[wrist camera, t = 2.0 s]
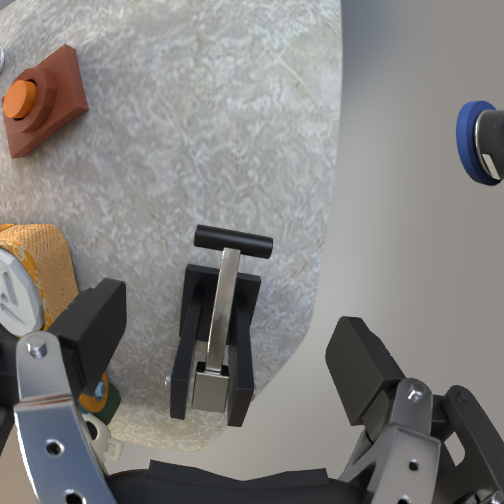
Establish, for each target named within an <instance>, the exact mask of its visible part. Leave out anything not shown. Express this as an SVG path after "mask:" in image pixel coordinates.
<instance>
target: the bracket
mask: <svg viewBox="0 0 504 504" xmlns="http://www.w3.org/2000/svg"><path fill="white" fill-rule="evenodd" d="M219 271H220V269H215V268H209V267H203V266H198V265H192V264H188V265H187V267H186V272H185V281H184V290H183V299H182V309H181V320H180V332H179V337H181V338H180V342H179V346H178V350H177V354H176V358H175V362H174V366H173V370H168V372H167V377H166V389H169V390H170V417H171V418H176V419H181V420H184V419H185V412H186V405H187V399H188V392H189V386H190V379H191V373H192V367H193V361H194V355H195V350H196V344H197V340H199V341H205V342H208V341H209V334H210V328H211V321H212V315H213V308H214V302H215V296H216V290H217V283H218V277H219ZM260 285H261V278H260V276H256V275H250V274H244V273H238V272H237V277H236V283H235V289H234V295H233V301H232V308H231V314H230V320H229V326H228V332H227V339H226V345H229V348H228V369H229V375H230V381H229V387H228V416H227V425H228V426H235V427H241V426H242V424H243V421H244V419H245V416H246V413H247V410H248V407H249V405H250V402H251V401H253V400H254V397H255V390H256V386H255V383H254V378H253V366H252V354H251V342H250V330H249V329H250V325H251V321H252V317H253V313H254V309H255V305H256V301H257V297H258V293H259V289H260Z"/></svg>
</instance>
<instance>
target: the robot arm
mask: <svg viewBox="0 0 504 504" xmlns="http://www.w3.org/2000/svg"><path fill="white" fill-rule="evenodd" d="M472 140H473V148H474V153H475V156H476V159H477V162H478V164H479V166H480V168H481V170H482V171H483V172H484V173H485V174H486V175H487V176H489V177H493V178H495V179H499V180H500V179H504V110H481V111H480V112H479V113H478V114H477V115H476V117H475V120H474V123H473V130H472ZM126 322H127V312H126V284H125V282H124V281H119V280H115V279H110V278H104V279H103V280H102V281H101V282H100V283H99V284H98V285H97V286H96V288H95V289H94V288H89V289H87V290H85V291H83V292H81V293H79V294H78V295H77V296H76V297H75V298H74V299H73V301H72V303H70V304H69V305H68V306H67V307H66V309H64V310H63V312H62V313H61V314H60V315H59V316H58V317H57V318H56V320H55V321H54V322H53V323H52V324H51V325H50V327H49V328H48V329H47V330H46V331H32V332H29V333H27V334H25V335H24V336H22V337H21V338H20V339H19V341H18V342H12V341H6V340H0V456H1V453H2V451H3V448H4V446H5V443H6V441H7V439H8V436H9V434H10V431H11V430H12V427H13V425H14V423H16V429H17V435H18V440H19V444H20V449H21V453H22V457H23V461H24V465H25V468H26V471H27V474H28V478H29V482H30V485H31V488H32V490H33V493H34V496H35V499H36V501H37V504H504V442H503V440H502V439H501V437H500V435H499V434H498V432H497V430H496V429H495V427H494V426H493V424H492V423H491V421H490V419H489V418H488V416H487V415H486V413H485V412H484V410H483V409H482V407H481V406H480V404H479V403H478V401H477V400H476V398H475V397H474V396H473V394H472V393H471V392H470V391H469V390H468V389H466V388H464V387H462V386H459V385H454V386H452V387H451V388H450V389H449V390H448V392H447V393H446V394H445V395H444V396H440V395H433V394H432V392H431V390H430V389H429V388H428V386H427V385H426V384H424V383H423V382H421V381H419V380H417V379H414V378H406V377H405V375H404V374H403V372H402V371H401V370H400V368H399V366H398V365H397V363H396V362H395V360H394V359H393V357H392V356H390V353H389V351H388V350H387V349H385V346H384V344H383V343H382V341H381V340H380V338H378V337H377V336H376V335H375V334H374V333H372V332H371V331H370V330H369V328H368V327H367V326H366V324H365V323H364V321H363V320H362V319H361V318H358V317H347V316H342V317H341V318H340V319H339V321H338V323H337V325H336V328H335V330H334V333H333V335H332V337H331V339H330V342H329V344H328V346H327V349H326V356H325V359H326V363H327V366H328V369H329V371H330V373H331V376H332V379H333V381H334V384H335V386H336V389H337V391H338V394H339V396H340V399H341V401H342V404H343V406H344V409H345V412H346V414H347V417H348V419H349V422H350V424H351V426H356V425H364V426H365V429H364V430H363V431H362V433H361V435H360V437H359V439H358V442H357V444H356V446H355V449H354V451H353V454H352V455H351V458H350V460H349V462H348V464H347V466H346V468H345V470H344V472H343V473H342V474H341V476H340V477H339V478H338V479H332V478H328V476H327V472H326V469H325V468H323V469H315V470H302V471H287V472H283V473H279V474H275V475H271V476H267V477H262V478H257V479H252V480H247V481H240V480H235V479H232V478H228V477H224V476H221V475H217V474H214V473H211V472H208V471H204V470H201V469H198V468H195V467H188V466H182V465H176V464H170V463H165V462H160V461H155V460H150V466H149V469H137V470H128V471H122V472H118V473H115V474H112V475H109V474H108V472H107V470H106V468H105V466H104V464H103V462H102V460H101V458H100V456H99V454H98V452H97V450H96V448H95V445H94V443H93V441H92V438H91V436H90V433H89V431H88V428H87V426H86V423H85V421H84V418H83V415H82V412H81V410H80V407H79V404H78V399H79V397H80V395H81V393H82V394H84V395H87V396H90V397H93V395H94V393H95V391H96V389H97V386H98V384H99V382H100V380H101V378H102V376H103V374H104V372H105V370H106V368H107V366H108V364H109V362H110V360H111V358H112V356H113V354H114V352H115V350H116V348H117V346H118V344H119V342H120V340H121V338H122V336H123V334H124V332H125V328H126ZM454 431H455V432H456V434H457V436H458V438H459V440H460V442H461V443H462V445H463V447H464V449H465V457H464V459H463V461H462V462H461V463H460V464H459V465H457V466H455V464H454V462H453V460H452V458H451V456H450V453H449V451H448V450H447V447H446V445H445V443H444V442H445V441H446V439H448V438H449V437H450V436H451V435H452V434H453V432H454Z"/></svg>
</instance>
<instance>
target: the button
mask: <svg viewBox="0 0 504 504" xmlns="http://www.w3.org/2000/svg"><path fill="white" fill-rule="evenodd" d="M37 93H38V91H37V86H36V85H35V84H34V83H33V82H29V81H24V80H18V81H16V82H14V83H13V84H12V85H11V87H10V88H9V89H8V91H7V93H6V95H5V98H4V103H3V110H4V114H5V115H6V116H7V117H9V118H23V117H25V116H27V115H28V114H29V113H30V112H31V110H32V108H33V106H34V105H35V102H36V97H37Z"/></svg>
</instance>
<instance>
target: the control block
mask: <svg viewBox="0 0 504 504" xmlns="http://www.w3.org/2000/svg"><path fill="white" fill-rule="evenodd" d="M18 80H24V81H29V82H33V83H34V84H35V85H36V86H37V91H38V93H37V97H36V102H35V105H34V106H33V108H32V110H31V112H30V113H29V114H28V115H27V116H25V117H23V118H9V117H7V116H6V115H5V114H4V110H3V116H4V123H5V127H6V133H7V139H8V144H9V148H10V153H11V157H12V159H13V158H20V157H25V156H26V155H27V154H28V153H29V152H30V151H32V150H33V149H34V148H35V147H36V146H38V145H39V144H40V143H41V142H43V141H44V140H45V139H47V138H48V137H49V136H51V135H52V134H53V133H55V132H56V131H57V130H59V129H60V128H61V127H63V126H64V125H66V124H67V123H69V122H70V121H72V120H73V119H74V118H76V117H77V116H79V115H81V114H82V113H84V112H85V111H87V110H88V109H89V108H88V105H87V101H86V97H85V93H84V89H83V84H82V80H81V75H80V71H79V66H78V61H77V56H76V50H75V49H74V48H72V47H70V46H68V45H66V44H64V45H63V46H62V47H60V48H59V49H58V50H56V51H55V52H54V53H52V54H51V55H50V56H48V57H47V58H46V59H45V60H43V61H42V62H41V63H40V64H38V65H37V66H36V67H33V68H29V69H26V70H24V71H23V72H22V73H21V74H20V75H19V76H18V77H17V78H16V79H15V80H14V82H16V81H18ZM14 82H13V83H14ZM13 83H12V84H13ZM4 98H5V96H4V97H3V98H2V106H3V103H4Z"/></svg>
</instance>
